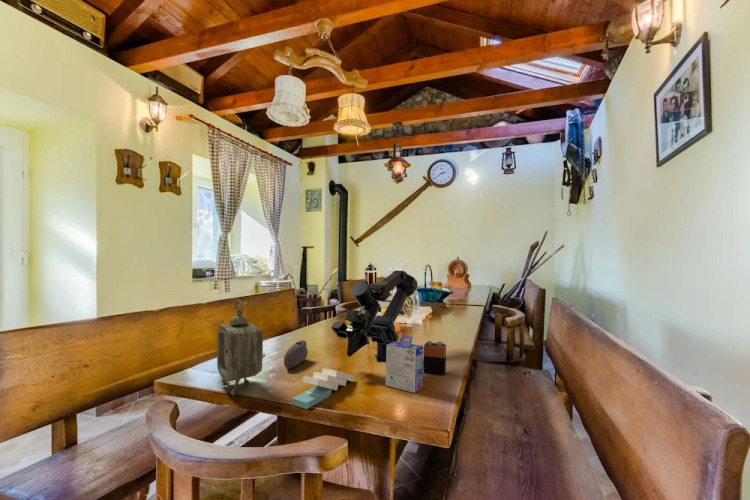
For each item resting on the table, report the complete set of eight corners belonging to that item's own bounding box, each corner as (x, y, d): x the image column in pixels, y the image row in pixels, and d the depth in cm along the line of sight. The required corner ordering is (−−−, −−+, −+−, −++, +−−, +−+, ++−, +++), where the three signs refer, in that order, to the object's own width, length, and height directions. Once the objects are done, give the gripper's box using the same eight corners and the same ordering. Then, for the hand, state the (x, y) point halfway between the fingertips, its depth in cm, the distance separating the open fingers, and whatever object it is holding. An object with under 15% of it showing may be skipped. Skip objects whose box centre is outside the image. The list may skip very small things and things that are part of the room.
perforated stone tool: (292, 373, 107) (292, 351, 107) (277, 371, 108) (277, 350, 108) (310, 358, 122) (311, 339, 122) (297, 357, 123) (297, 339, 123)
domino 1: (324, 380, 96) (303, 375, 88) (338, 384, 93) (318, 378, 86) (322, 387, 95) (301, 381, 87) (336, 390, 93) (317, 385, 85)
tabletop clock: (216, 382, 98) (217, 298, 99) (247, 376, 104) (249, 296, 104) (228, 399, 87) (230, 304, 87) (263, 391, 92) (264, 301, 93)
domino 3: (332, 377, 99) (314, 371, 92) (346, 380, 97) (328, 374, 89) (331, 383, 99) (312, 377, 91) (345, 386, 96) (326, 381, 88)
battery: (444, 376, 105) (444, 344, 106) (423, 373, 108) (423, 342, 108) (446, 371, 110) (446, 341, 110) (425, 369, 112) (425, 339, 112)
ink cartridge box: (424, 387, 96) (424, 337, 96) (415, 393, 92) (416, 341, 92) (394, 380, 102) (394, 332, 102) (385, 386, 97) (385, 336, 97)
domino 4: (340, 373, 103) (323, 367, 95) (354, 376, 100) (337, 370, 93) (339, 378, 102) (321, 373, 94) (353, 382, 100) (335, 377, 92)
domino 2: (317, 385, 93) (292, 398, 84) (331, 388, 91) (307, 402, 82) (316, 391, 93) (291, 404, 84) (331, 395, 90) (307, 409, 82)
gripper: (335, 297, 112) (312, 337, 102) (383, 302, 102) (364, 346, 93) (348, 317, 118) (328, 356, 109) (394, 323, 109) (378, 366, 99)
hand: (348, 356), depth 102 cm, fingers closed
